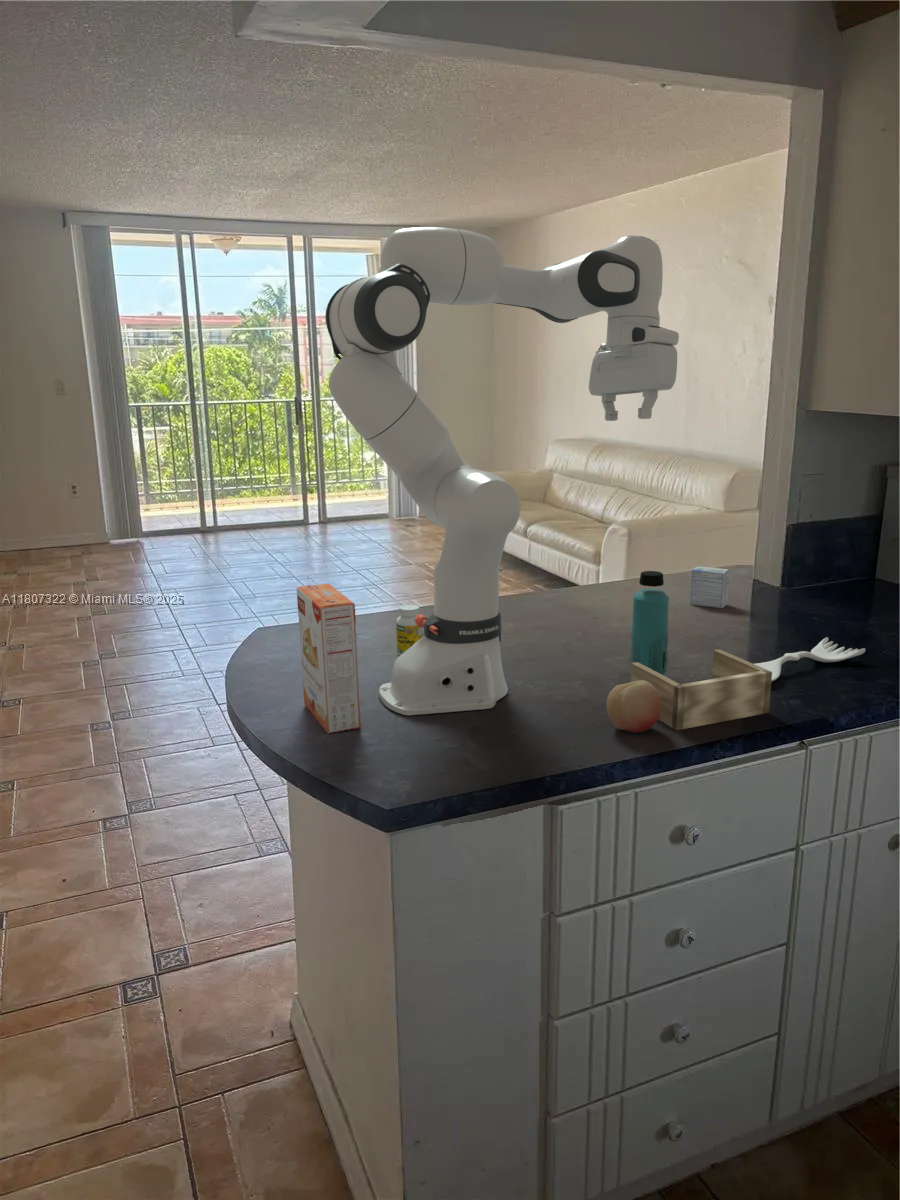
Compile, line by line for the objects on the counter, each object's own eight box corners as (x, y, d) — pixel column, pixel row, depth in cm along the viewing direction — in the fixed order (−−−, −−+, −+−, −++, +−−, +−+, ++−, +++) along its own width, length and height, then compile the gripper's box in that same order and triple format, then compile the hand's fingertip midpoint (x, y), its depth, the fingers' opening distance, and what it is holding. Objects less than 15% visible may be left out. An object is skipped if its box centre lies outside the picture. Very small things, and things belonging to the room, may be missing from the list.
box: (676, 730, 136) (678, 688, 134) (629, 702, 148) (631, 662, 146) (768, 712, 142) (772, 672, 141) (716, 687, 154) (719, 649, 152)
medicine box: (727, 604, 207) (730, 569, 205) (722, 609, 204) (724, 572, 202) (694, 600, 211) (696, 565, 209) (689, 604, 208) (691, 569, 206)
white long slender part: (865, 664, 166) (867, 646, 165) (746, 696, 151) (747, 677, 150) (825, 651, 173) (826, 634, 173) (707, 680, 158) (708, 662, 157)
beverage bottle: (666, 687, 154) (672, 576, 149) (628, 685, 156) (633, 575, 151) (665, 675, 160) (671, 568, 155) (628, 673, 162) (633, 567, 157)
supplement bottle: (428, 651, 176) (427, 605, 173) (417, 659, 171) (416, 611, 169) (404, 648, 178) (403, 602, 176) (392, 656, 173) (391, 609, 171)
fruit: (627, 715, 142) (629, 669, 140) (669, 730, 136) (672, 681, 134) (596, 729, 137) (597, 681, 135) (637, 744, 131) (640, 694, 129)
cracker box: (301, 705, 148) (294, 585, 143) (336, 700, 150) (330, 581, 145) (324, 736, 136) (318, 605, 130) (362, 729, 138) (356, 601, 133)
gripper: (582, 343, 159) (578, 420, 161) (655, 328, 141) (649, 416, 143) (611, 346, 162) (606, 422, 164) (686, 332, 144) (679, 418, 146)
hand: (627, 419), depth 153 cm, fingers open, 8 cm apart
